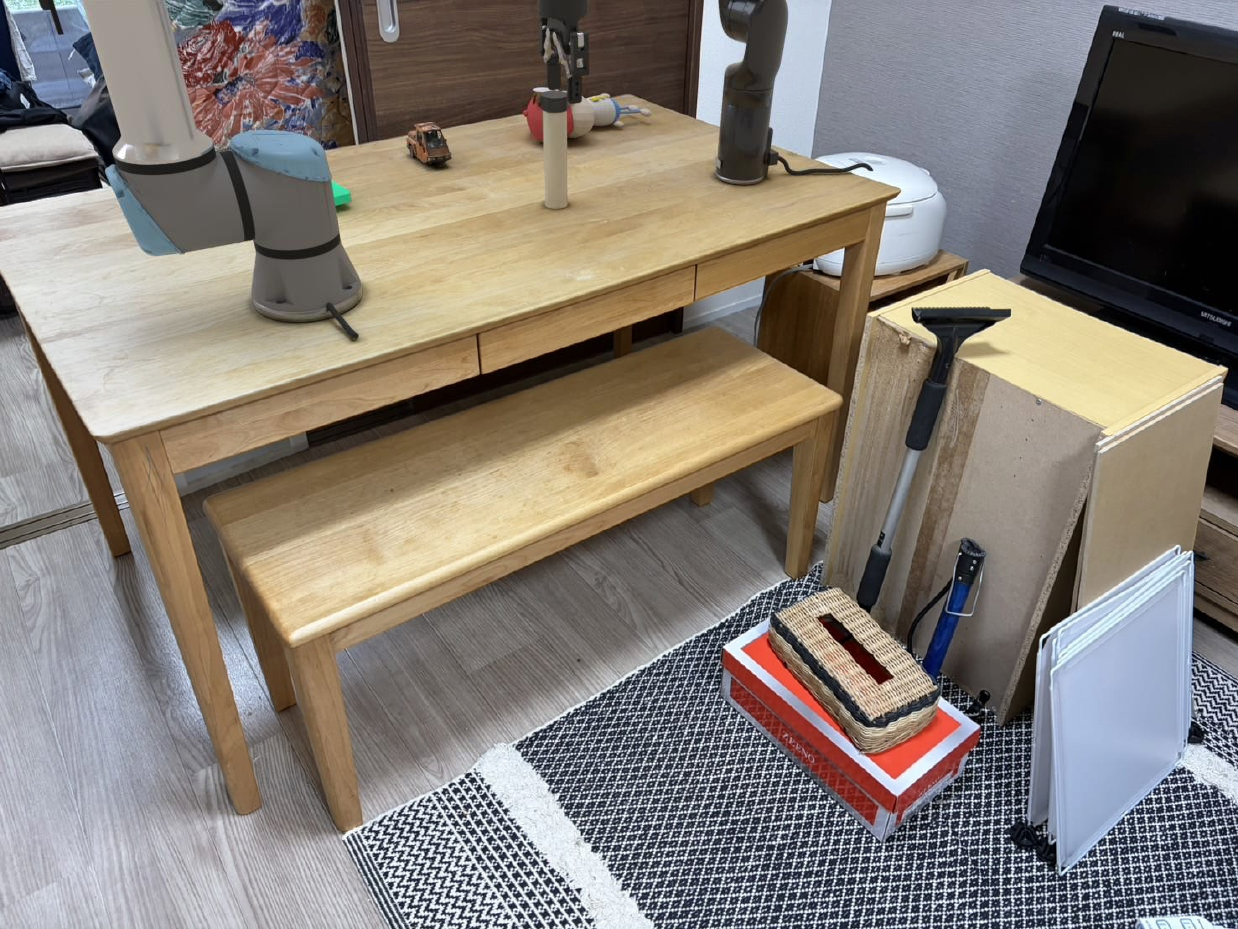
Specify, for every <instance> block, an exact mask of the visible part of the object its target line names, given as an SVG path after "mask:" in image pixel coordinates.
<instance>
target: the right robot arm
mask: <svg viewBox="0 0 1238 929" xmlns="http://www.w3.org/2000/svg"><path fill="white" fill-rule="evenodd" d="M536 2H537V3H536V4H537V13H538V15H539V19H538V21H539V24H538V25H539V29H538V30H539V35H538V36H539V38H538V39H539V41H538V42H539V51H538V52H539V56H540V57H543V62H544V64H545V68H546V69H545V73H546V74H545V76H546V77H545V79H546V88H548V89H550V90H552V89H556V90H559V89H561V88H562V65H563V66H564V71H565V75H566V91H567V102H568V103H570V104H577V103H581V101H582V95H583V78H585V77H586V76H589V75H590V37H589V36H590V35H589V32H588V31H580V26H579V21H580V20H581V19H582V18H586V17H587V16H588V15H589V0H537V1H536ZM717 2H718V12H719V13H718V14H719V20H720V24H721V28H722V30H723V32H724V34H725V35H726V37H728V38H729V39H731V40H732V41H735V42H738V43H740V44H741V43H742V44H745V48H744V54H743V59H742V60H741V61H738V62H733V63H730V64H728V65H727V66H726V67H725V69H724V75H723V76H724V77H723V88H722V98H721V111H720V120H719V132H718V143H717V154H716V156H715V157H714V165H715V172H714V176H715V178H717V180H719V181H722V182H724V183H727V184H732V185H739V186H740V185H743V186H745V185H746V186H747V185H753V184H758V183H760V182H762V181H763V180H766V179H768V175H769V168H770V167H771V166H777V165H778V162H780V163H781V164H782V165H783V167H784V170H785V171H786V173H787V174H789V175H791V176H803V175H809V174H843V173H848V172H852V171H855V170H857V169H860V168H861V169H862V168H863V169H866V170H867V171H868V172H874V168H873V167H872V166H871V165H870V164H868V163H866V162H859V163H855V164H853V165H850V166H847V167H841V168H808V169H803V170H794V169H791V168H790V166H789V162H788V161H787V160H786V159H785V158H784V157H783V156H781V155H780V153H779V152H778V151H776V150H774V149H773V148H772V145H773V144H772V143H773V135H774V129H773V127H771V126H770V123H771V115H772V106H773V99H774V98H773V97H774V88H775V82H776V77H777V75H778V73H779V71H780V68H781V64H782V61H783V53H784V47H785V44H786V43H785V42H786V36H787V30H788V23H789V7H788V2H787V0H717Z"/></svg>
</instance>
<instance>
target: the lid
mask: <svg viewBox="0 0 1238 929" xmlns="http://www.w3.org/2000/svg"><path fill="white" fill-rule="evenodd" d="M563 91H564V90H559V91H545V92H542V93H541V109H542V110H543V111H546V112H564V111H566V110H568V102H567V93H566V92H563Z"/></svg>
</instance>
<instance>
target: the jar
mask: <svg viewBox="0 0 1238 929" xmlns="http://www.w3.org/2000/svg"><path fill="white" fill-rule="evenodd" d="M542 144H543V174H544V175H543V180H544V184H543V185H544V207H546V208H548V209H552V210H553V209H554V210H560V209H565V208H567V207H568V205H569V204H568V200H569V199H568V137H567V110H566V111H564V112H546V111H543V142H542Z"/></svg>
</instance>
